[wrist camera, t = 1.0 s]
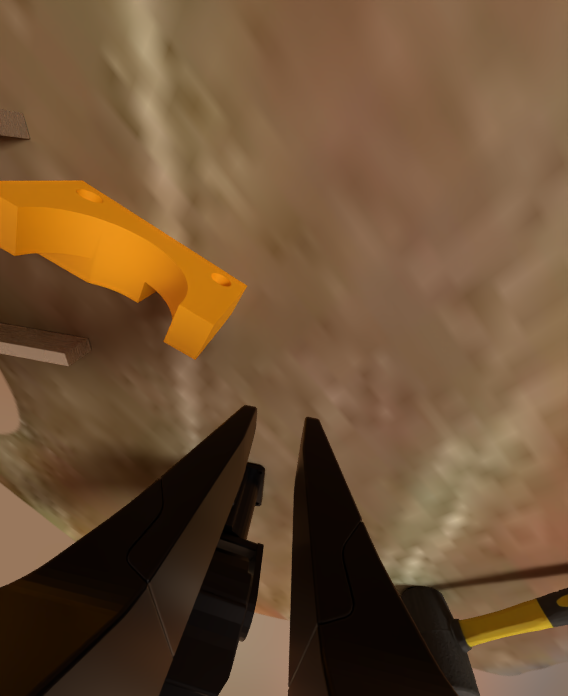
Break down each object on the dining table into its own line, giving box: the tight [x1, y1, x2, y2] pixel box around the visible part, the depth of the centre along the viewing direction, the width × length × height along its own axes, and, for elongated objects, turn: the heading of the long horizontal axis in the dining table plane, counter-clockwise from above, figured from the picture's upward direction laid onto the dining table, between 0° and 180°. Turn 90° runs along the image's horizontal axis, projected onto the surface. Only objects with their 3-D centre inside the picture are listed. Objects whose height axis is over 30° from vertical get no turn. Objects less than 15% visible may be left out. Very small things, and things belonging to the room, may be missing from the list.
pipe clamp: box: [0, 181, 247, 360], centre depth 17 cm, size 12×4×6 cm, turn 58°
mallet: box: [401, 586, 568, 696], centre depth 29 cm, size 29×6×10 cm, turn 133°
